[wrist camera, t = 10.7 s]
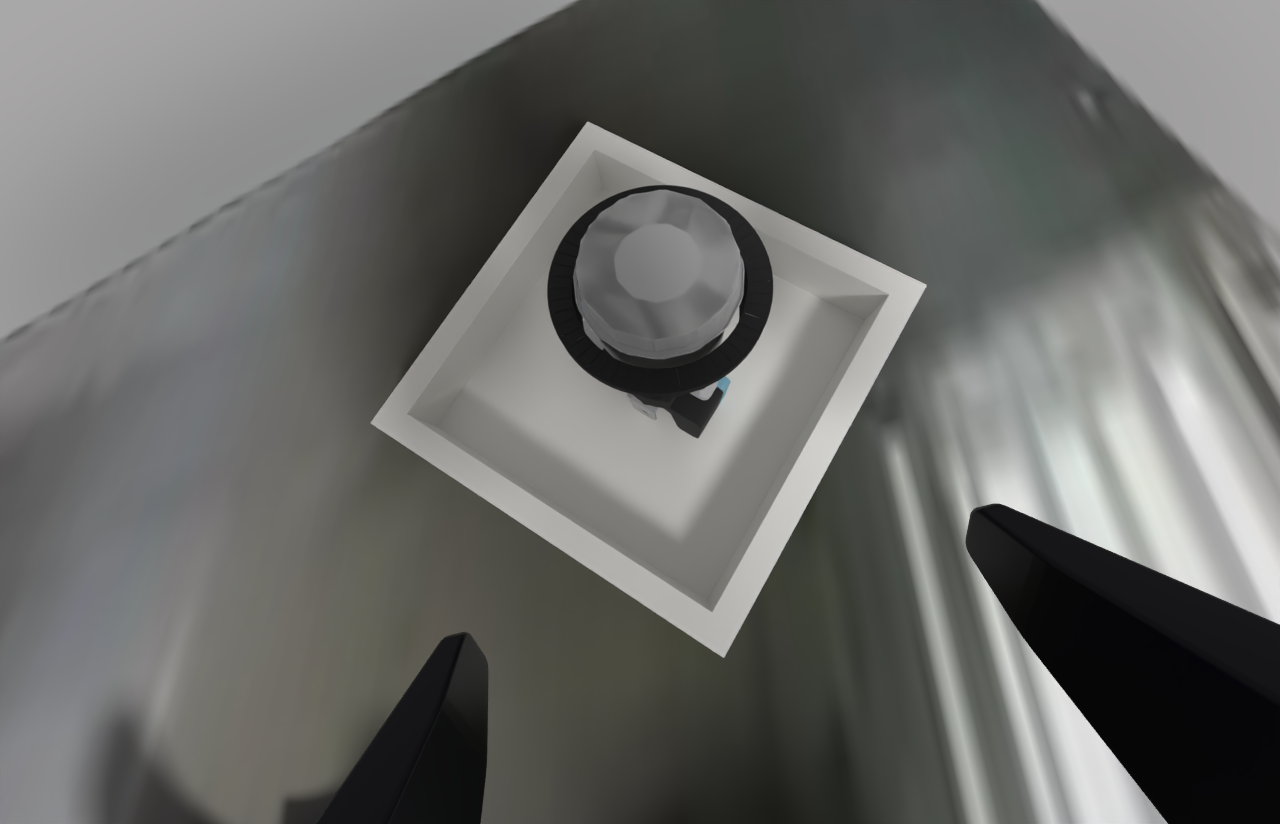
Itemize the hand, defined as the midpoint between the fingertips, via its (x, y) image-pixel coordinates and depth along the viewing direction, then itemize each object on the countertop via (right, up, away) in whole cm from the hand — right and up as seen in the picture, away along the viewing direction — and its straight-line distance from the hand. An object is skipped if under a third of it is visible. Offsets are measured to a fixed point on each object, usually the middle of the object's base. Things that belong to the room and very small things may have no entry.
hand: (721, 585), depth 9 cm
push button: (-1, +4, +12) cm, 13 cm away
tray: (-1, +4, +12) cm, 13 cm away
